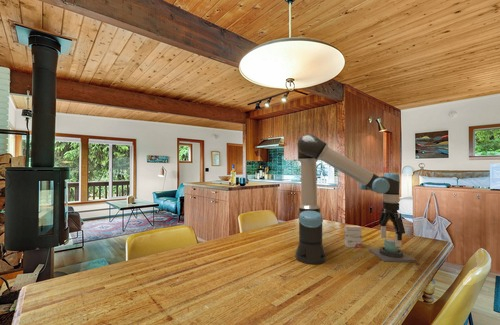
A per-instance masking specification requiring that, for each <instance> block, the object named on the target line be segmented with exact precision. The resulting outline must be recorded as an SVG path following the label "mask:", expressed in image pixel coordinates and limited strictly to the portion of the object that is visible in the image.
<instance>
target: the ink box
mask: <svg viewBox="0 0 500 325" xmlns="http://www.w3.org/2000/svg"><path fill="white" fill-rule="evenodd" d="M343 227H344V246H345V247H346V248H360V249H361V248H362V246H363V245H362V244H363V243H362V239H363V238H362V227H361V226H359V225H348V224H347V225H344V226H343Z"/></svg>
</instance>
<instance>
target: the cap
mask: <svg viewBox="0 0 500 325" xmlns="http://www.w3.org/2000/svg"><path fill="white" fill-rule="evenodd" d="M384 247H385V251H387V252H392V253H398V249H399V247H398V246H395V239H394V238H393V239H392V238H384Z"/></svg>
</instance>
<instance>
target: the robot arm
mask: <svg viewBox="0 0 500 325" xmlns="http://www.w3.org/2000/svg"><path fill="white" fill-rule="evenodd" d="M296 144H297V160H298V161H299V162H300V183H301V184H300V185H301V187H300V188H301V189H300V190H301V193H300V194H301V195H300V196H301V204H300V205H299V207H298V212H299V213H298V244H297V248H296V250H295V260H297V261H299V262H301V263H304V264H308V265H320V264H323V263H325V262H326V261H327V258H326V257H327V255H326V252H325V249H324V245H323V223H324V222H323V221H324V219H323V215H322V213H321V207H320V205H318V184H317V180H318V179H317V178H318V177H317V162H318V161H319V160H321V161H322V162H324V163H326V164H327V165H329V166H331V167H332V168H334V169H336V170H337V171H339V172H341V173H342V174H344V175H346V176H348V177H349V178H350V179H352V180H353V181H356V182H357V183H358V185H359V189H360V190H362V191H363V190H364V191H371V192H374V193H376V194H381V195H382V196H383V197H382V201H383V202H382V208H381V212H380V215H379V216H380V217H379V219H378V222H377V223H378V224H379V225H380V239H387V224H388V222H389V221H391V222H392V225H393V227H394V229H395V239H394V240H395V246H398V248H400V247H402V246H403V245H402V241H403V235H404V234H406V230H405V227H404V223H403V222H404V221H403V219H402V213H401V212H400V213H399V212H398V211H399V210H400V203H399V202H400V186H401V178H400V177H401V176H400V174H399V173H396V172H384V173H383V175H382V176H379V175H377V174H375V173H374V172H372V171H370V170H369V169H367V168H365V167H363V166H362V165H360V164H359V163H357V162H355V161H354V160H352V159H351V158H348V156H347V157H346V156H345V155H343V154H341V153H339V151H336V150H334V149H333V148H332V147H329V145H328V143H327V142H325V141H323V140H322V139H320V138H319V137H318V136H316V135H314V134H312V133H305V134H303V135H301V136H300V137H299V139H298V140H297V142H296Z"/></svg>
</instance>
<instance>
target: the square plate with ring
mask: <svg viewBox="0 0 500 325" xmlns="http://www.w3.org/2000/svg"><path fill="white" fill-rule="evenodd" d="M368 251H369V252H370V253H372V254H373V255H374V256H375V257H376V258H379V259H380V260H381V261H383V262H384V263H385V262H386V263H389V262H390V263H398V262H399V263H401V262H402V263H404V262H405V263H409V262H410V263H412V262H413V263H416V262H417V259H416V258H414V257H412V256H410V255H409V254H407V253H405V252H404V251H403V250H402V249H400V248H398V253H392V252H387V251H385V246H381V247H379V248H368Z"/></svg>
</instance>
